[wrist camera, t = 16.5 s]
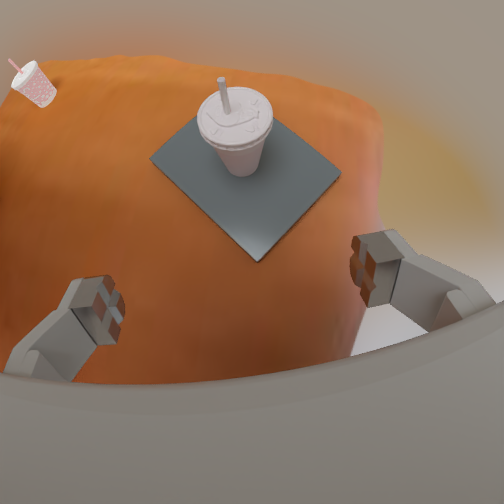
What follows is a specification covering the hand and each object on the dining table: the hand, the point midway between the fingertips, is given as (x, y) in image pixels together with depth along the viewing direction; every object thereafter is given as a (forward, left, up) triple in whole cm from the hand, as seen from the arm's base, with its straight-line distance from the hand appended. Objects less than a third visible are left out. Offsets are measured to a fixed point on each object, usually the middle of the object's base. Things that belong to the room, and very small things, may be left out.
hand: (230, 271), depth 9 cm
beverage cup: (-51, -3, -22) cm, 56 cm away
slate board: (-10, +9, -22) cm, 26 cm away
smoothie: (-10, +9, -20) cm, 24 cm away
